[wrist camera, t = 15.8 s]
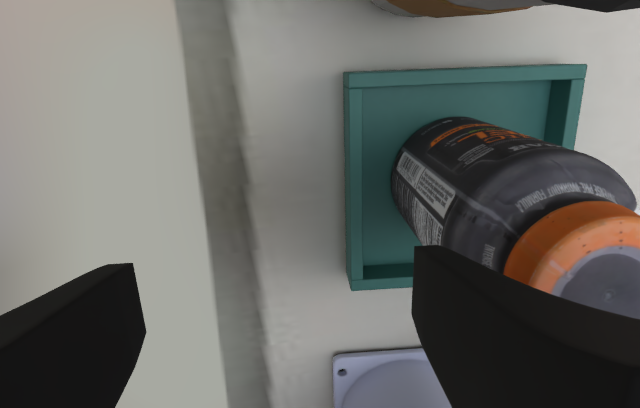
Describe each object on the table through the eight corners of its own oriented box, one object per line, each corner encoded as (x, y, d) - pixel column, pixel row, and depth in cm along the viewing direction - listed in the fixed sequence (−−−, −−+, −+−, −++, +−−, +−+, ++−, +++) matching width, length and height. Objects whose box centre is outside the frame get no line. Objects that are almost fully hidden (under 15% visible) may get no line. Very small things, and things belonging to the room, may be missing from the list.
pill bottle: (521, 121, 20) (780, 190, 10) (492, 236, 22) (682, 403, 11) (398, 108, 20) (526, 167, 9) (379, 228, 22) (466, 395, 11)
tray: (533, 261, 23) (553, 278, 21) (346, 273, 23) (351, 291, 21) (561, 63, 20) (587, 64, 18) (343, 72, 19) (348, 73, 18)
